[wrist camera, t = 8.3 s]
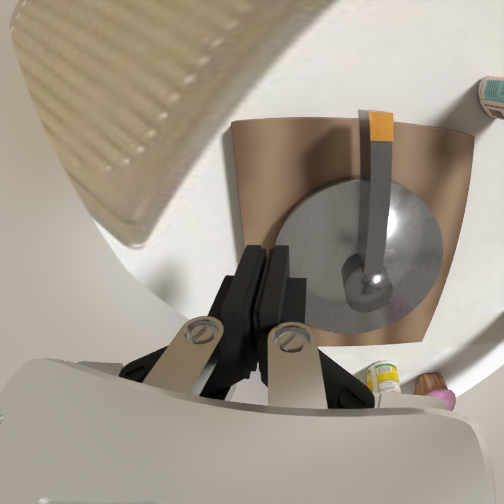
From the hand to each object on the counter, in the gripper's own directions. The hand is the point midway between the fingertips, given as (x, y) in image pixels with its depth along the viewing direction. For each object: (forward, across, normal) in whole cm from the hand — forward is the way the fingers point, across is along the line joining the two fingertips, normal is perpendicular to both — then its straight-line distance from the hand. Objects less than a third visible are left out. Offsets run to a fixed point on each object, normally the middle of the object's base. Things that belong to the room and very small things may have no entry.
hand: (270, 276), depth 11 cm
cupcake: (+19, -26, +37) cm, 49 cm away
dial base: (+18, -7, +9) cm, 21 cm away
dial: (+15, -7, +6) cm, 18 cm away
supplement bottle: (+18, -15, +32) cm, 40 cm away
